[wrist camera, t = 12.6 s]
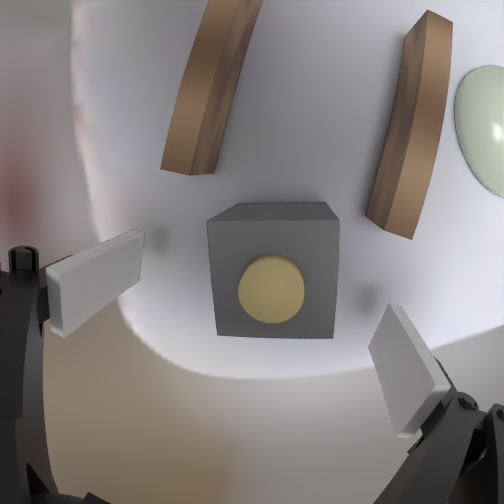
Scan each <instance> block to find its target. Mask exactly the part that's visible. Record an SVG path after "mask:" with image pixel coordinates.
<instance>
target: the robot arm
mask: <svg viewBox="0 0 504 504" xmlns="http://www.w3.org/2000/svg"><path fill="white" fill-rule="evenodd" d="M144 239H145V233H142V232H139V231H136V230H131V231H129V232H126V233H124V234H122V235H119V236H117V237H114V238H112V239H109V240H107V241H105V242H102V243H100V244H98V245H95V246H93V247H91V248H88V249H86V250H84V251H81V252H79V253H77V254H75V255H70V256H67V257H65V258H62V259H61V260H58V261H56V262H55V263H52V264H49V265H47V266H45V267H43V268H41V269H39V257H38V256H39V255H38V250H37V249H36V248H33V247H30V246H19V247H14V248H12V249H11V250H10V251H9V253H8V254H9V269H10V272H9V273H8V272H4V271H1V265H0V504H110V503H108V502H106V501H104V500H102V499H101V498H99V497H97V496H95V495H93V494H91V493H90V492H88V493H87V495H86V496H85V498H84V499H83V498H80V497H75V496H71V495H64V494H59V492H58V489H57V486H56V484H55V481H54V479H53V476H52V472H51V468H50V462H49V455H48V448H47V441H46V432H45V421H44V405H43V345H44V323H43V322H44V321H46V320H47V319H49V318H50V327H51V331H53V332H54V333H56V334H58V335H60V336H61V337H63V338H65V337H66V336H68V335H69V334H70V333H71V332H73V331H74V330H75V329H76V328H78V327H79V326H80V325H82V324H83V323H84V322H85V321H86V320H88V319H89V318H90V317H92V316H93V315H94V314H96V313H97V312H98V311H99V310H101V309H102V308H103V307H105V306H106V305H107V304H109V303H110V302H111V301H113V300H114V299H115V298H117V297H118V296H119V295H121V294H122V293H123V292H125V291H126V290H127V289H129V288H130V287H131V286H133V285H134V284H135V283H137V282H138V281H139V280H140V272H141V263H142V255H143V247H144ZM368 348H369V350H370V353H371V356H372V359H373V362H374V365H375V368H376V371H377V374H378V378H379V381H380V384H381V387H382V390H383V394H384V397H385V400H386V403H387V407H388V410H389V414H390V417H391V421H392V424H393V427H394V432H395V435H396V437H398V438H412V437H413V436H414V434H415V433H416V432H417V431H418V430H419V429H420V428H421V431H422V434H423V435H422V436H421V437H420V438H419V440H418V441H417V442H416V443H415V444H414V445H413V446H412V447H411V449H410V450H409V451H408V452H407V453H408V454H409V455H408V457H407V458H406V460H405V461H404V463H403V464H402V466H401V467H400V469H399V471H397V473H396V474H395V476H394V477H393V479H392V480H391V481H390V483H389V484H388V485H387V487H386V488H385V489H384V491H383V492H382V493H381V494H380V496H379V497H378V498H377V499H376V501H375V502H374V503H373V504H504V406H502V405H500V404H494V405H493V406H492V407H491V409H490V410H489V411H488V413H486V412H483V411H480V410H478V409H479V407H478V404H477V402H476V401H475V400H474V399H473V398H472V397H471V396H470V395H468V394H466V393H463V392H457V390H456V388H455V387H454V385H453V383H452V381H451V380H450V378H449V377H448V375H447V373H446V372H445V371H444V368H443V366H442V365H441V363H440V362H439V361H438V360H437V359H436V358H435V357H434V356H433V355H432V353H431V352H430V350H429V349H428V347H427V345H426V344H425V342H424V341H423V339H422V337H421V336H420V334H419V333H418V331H417V330H416V328H415V327H414V325H413V324H412V322H411V321H410V319H409V318H408V316H407V315H406V313H405V312H404V310H403V309H402V307H401V306H397V305H394V304H390V303H389V304H388V306H387V308H386V311H385V313H384V315H383V317H382V320H381V322H380V324H379V326H378V328H377V330H376V332H375V334H374V336H373V338H372V340H371V343H370V345H369V347H368ZM484 454H485V455H484ZM483 455H484V456H483ZM482 456H483V458H482Z"/></svg>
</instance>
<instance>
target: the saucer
mask: <svg viewBox="0 0 504 504" xmlns="http://www.w3.org/2000/svg"><path fill="white" fill-rule="evenodd" d="M454 112H455V126H456V131H457V136H458V140H459V143H460V147H461V149H462V152H463V155H464V157H465V159H466V161H467V163H468V165H469V167H470V168H471V170H472V172H473V173H474V175H475V176H476V177H477V179H478V180H479V181H480V182H481V183H482V184H483V185H484V186H485V187H486V188H487V189H489V190H490V191H492V192H493V193H495V194H497V195H500V196H503V197H504V68H503V67H500V66H496V65H485V66H482V67H480V68H478V69H476V70H474V71H472V72H470V73H469V74H467V75H466V76H465V77H464V79H463V80H462V81H461V83H460V85H459V88H458V90H457V94H456V99H455V108H454Z"/></svg>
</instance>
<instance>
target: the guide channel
mask: <svg viewBox="0 0 504 504" xmlns="http://www.w3.org/2000/svg"><path fill="white" fill-rule="evenodd" d="M261 3H262V0H209V3H208V5H207V8H206V10H205V13H204V16H203V18H202V21H201V24H200V27H199V29H198V32H197V35H196V38H195V41H194V44H193V47H192V50H191V53H190V56H189V59H188V62H187V66H186V69H185V72H184V75H183V79H182V82H181V86H180V89H179V93H178V96H177V100H176V104H175V108H174V111H173V115H172V119H171V123H170V127H169V132H168V136H167V140H166V144H165V149H164V154H163V158H162V163H161V168H160V169H162V170H167V171H171V172H176V173H181V174H185V175H200V174H213V173H214V170H215V166H216V161H217V157H218V153H219V149H220V145H221V141H222V137H223V133H224V129H225V125H226V121H227V117H228V114H229V110H230V106H231V102H232V99H233V95H234V92H235V88H236V84H237V81H238V77H239V74H240V70H241V67H242V64H243V60H244V57H245V54H246V50H247V47H248V44H249V40H250V37H251V34H252V31H253V28H254V25H255V22H256V18H257V15H258V12H259V9H260V6H261ZM452 29H453V22H451V21H449V20H447V19H446V18H444V17H442V16H440V15H438V14H436V13H434V12H432V11H430V10H427V11H426V12H425V13H424V14H423V16H422V17H421V18H420V19H419V20H418V21H417V23H416V24H415V25H414V26H413V27H412V29H411V30H410V31H409V32H408V33H407V35H406V36H405V41H404V48H403V55H402V62H401V68H400V74H399V80H398V86H397V91H396V96H395V101H394V106H393V111H392V116H391V120H390V125H389V129H388V134H387V138H386V142H385V146H384V150H383V154H382V158H381V162H380V166H379V169H378V173H377V177H376V180H375V184H374V188H373V191H372V194H371V198H370V201H369V205H368V208H367V211H366V214H365V216H366V217H367V218H368V219H370V220H371V221H372V222H374V223H375V224H376V225H378V226H379V227H380V228H382V229H383V230H385V231H387V232H390V233H393V234H396V235H399V236H402V237H405V238H408V239H410V240H412V238H413V235H414V232H415V229H416V226H417V223H418V220H419V217H420V214H421V210H422V207H423V204H424V200H425V197H426V193H427V190H428V186H429V182H430V179H431V175H432V171H433V167H434V163H435V158H436V154H437V149H438V145H439V140H440V135H441V130H442V124H443V119H444V113H445V106H446V100H447V92H448V84H449V75H450V65H451V52H452Z"/></svg>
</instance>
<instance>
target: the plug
mask: <svg viewBox="0 0 504 504" xmlns="http://www.w3.org/2000/svg"><path fill="white" fill-rule="evenodd" d="M207 235H208V247H209V259H210V270H211V281H212V291H213V301H214V311H215V320H216V329H217V335H220V336H236V337H257V338H292V339H333V333H334V322H335V309H336V295H337V279H338V257H339V219H338V218H337V216H336V215H335V214H334V212H333V211H332V210H331V209H330V207H329V206H328V205H327V204H326V202H289V203H243V204H236V205H234V206H233V207H231V208H229V209H227V210H226V211H224V212H222V213H221V214H219V215H217V216H215V217H214V218H212V219H210V220H209V221H207Z"/></svg>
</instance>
